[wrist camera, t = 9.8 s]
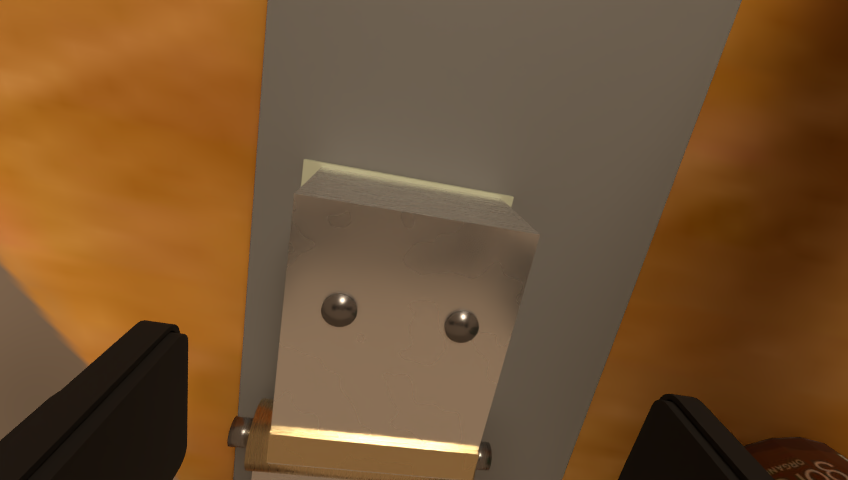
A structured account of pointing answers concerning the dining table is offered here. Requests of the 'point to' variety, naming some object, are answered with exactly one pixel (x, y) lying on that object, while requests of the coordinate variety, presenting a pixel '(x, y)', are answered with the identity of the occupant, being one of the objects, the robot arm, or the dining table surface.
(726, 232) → the dining table surface
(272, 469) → the fixed leaf
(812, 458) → the food container
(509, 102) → the board
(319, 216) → the tan studded block
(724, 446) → the robot arm
